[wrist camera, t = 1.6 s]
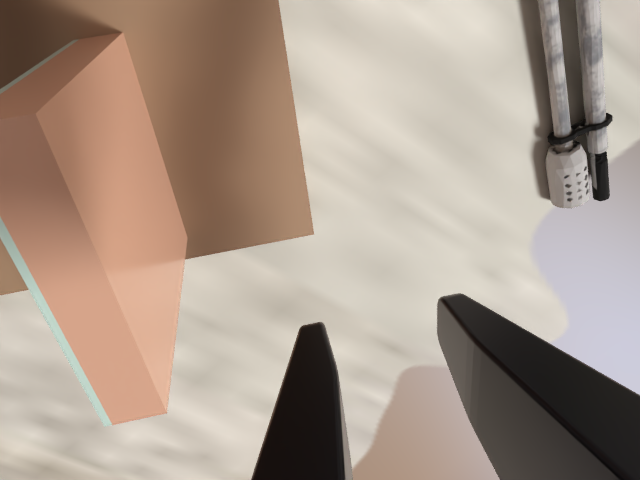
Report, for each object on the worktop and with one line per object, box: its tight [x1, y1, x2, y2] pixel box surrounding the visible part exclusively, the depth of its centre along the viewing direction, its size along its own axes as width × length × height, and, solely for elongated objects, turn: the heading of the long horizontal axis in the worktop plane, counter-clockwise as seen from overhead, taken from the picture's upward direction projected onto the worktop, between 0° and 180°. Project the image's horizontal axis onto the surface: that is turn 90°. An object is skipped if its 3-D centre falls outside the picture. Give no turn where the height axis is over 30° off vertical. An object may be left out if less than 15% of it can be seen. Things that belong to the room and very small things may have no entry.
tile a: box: [0, 32, 187, 427], centre depth 15 cm, size 2×8×9 cm, turn 7°
